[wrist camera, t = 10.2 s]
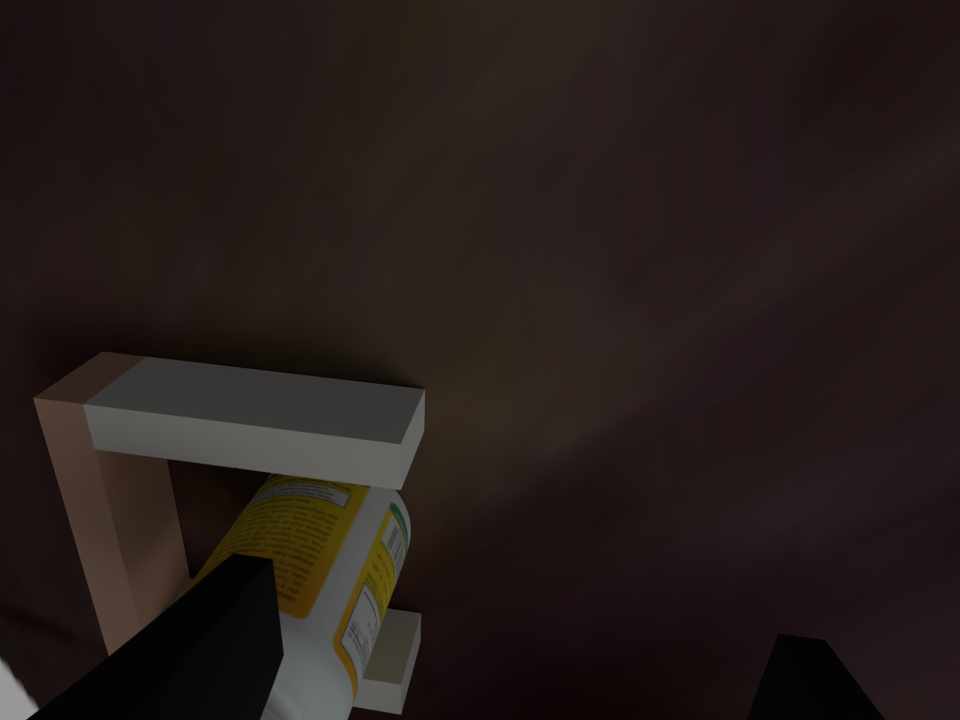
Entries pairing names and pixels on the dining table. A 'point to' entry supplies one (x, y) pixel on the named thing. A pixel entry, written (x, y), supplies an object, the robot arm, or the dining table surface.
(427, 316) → the dining table surface
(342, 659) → the supplement bottle
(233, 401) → the frame
